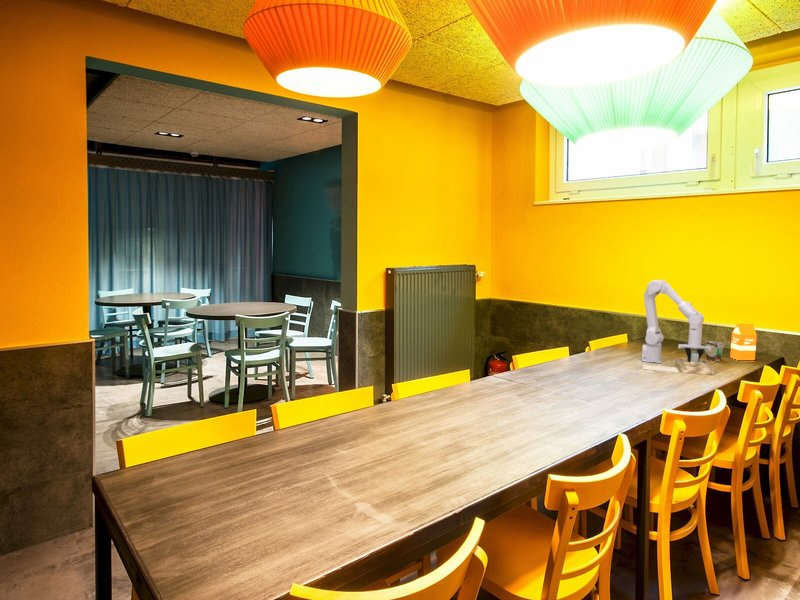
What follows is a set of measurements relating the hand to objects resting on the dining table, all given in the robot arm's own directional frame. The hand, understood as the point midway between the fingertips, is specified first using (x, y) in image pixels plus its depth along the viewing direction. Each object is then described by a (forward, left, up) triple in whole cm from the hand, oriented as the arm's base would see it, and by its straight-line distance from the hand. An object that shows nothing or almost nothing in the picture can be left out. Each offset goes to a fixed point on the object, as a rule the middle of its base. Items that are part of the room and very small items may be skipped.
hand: (693, 363), depth 268 cm
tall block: (0, 0, -2) cm, 2 cm away
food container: (+14, +24, -3) cm, 28 cm away
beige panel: (-16, -10, -2) cm, 19 cm away
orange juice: (+28, +33, -3) cm, 43 cm away
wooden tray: (0, -3, -2) cm, 4 cm away
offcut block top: (0, -10, 0) cm, 10 cm away
